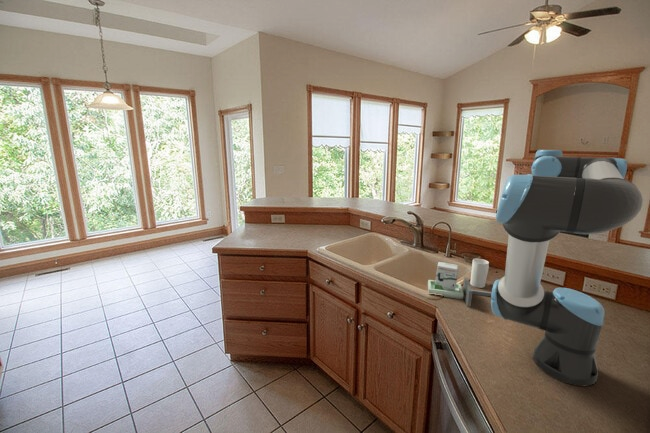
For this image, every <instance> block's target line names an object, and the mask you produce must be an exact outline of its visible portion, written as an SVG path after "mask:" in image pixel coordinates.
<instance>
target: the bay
mask: <svg viewBox="0 0 650 433" xmlns="http://www.w3.org/2000/svg"><path fill="white" fill-rule="evenodd" d="M462 290H463V293H464V295H463V299H464V301H465V304H466V307H468V308H471V305H472V297H473V295H477V296H484V297H491V294H492V291H484V290H476V289H472V285H471V284H470V281H469V279H468V277H466V276H465V277H463V285H462Z"/></svg>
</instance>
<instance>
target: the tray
mask: <svg viewBox="0 0 650 433" xmlns="http://www.w3.org/2000/svg"><path fill="white" fill-rule="evenodd" d="M435 280H436V279H435ZM435 280H434V279H428V281H427V292H429V293H436V294H442V295H443V296H444V298H445V297H446V298H451V299H459V300H464V293H463V286H462V284H461V283H457V282H456V288H455V292H453V291H446V290H439V289H434V288H435ZM443 296H442V297H443Z"/></svg>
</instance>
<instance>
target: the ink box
mask: <svg viewBox="0 0 650 433" xmlns="http://www.w3.org/2000/svg"><path fill="white" fill-rule="evenodd" d="M458 272H459V265H458V264H453V263H449V262H441V261H438V263H437V267H436V275H435V288H434V289H439V290H446V291H453V292H455V288H456V283H457V280H458Z"/></svg>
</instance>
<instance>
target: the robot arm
mask: <svg viewBox="0 0 650 433" xmlns="http://www.w3.org/2000/svg"><path fill="white" fill-rule="evenodd" d="M627 170H628V161H627V160H626V158H619V157H611V156H610V157H609V156H608V157H591V156H590V157H587V156H586V157H585V156H584V157H582V156H563V151H562V150H560V149H538V150H537V151H536V152H535V156H534V160H533V162H532V164H531V168H530V171H531V173H528V174H512V175H510V176H508V177H507V179H506V180H505V182H504V187H503V190H502V193H501V196H500V200H499V204H498V206H497V210H496V215H495V222H497V223H500V224H501V225H502V228H503V230H504V232H505V233H506V234H507V235H508V239H507V240H508V241H507V248H506V260H505V271H504V275H503V277H501V278H499V279H496V280H494V282H493V285H492V288H491V292H492V294H491V296H490V297H491V299H490V306H491V307H490V308H491V312H492V313H493V314H494V316H496V317H499V318H502V319H504V320H508V321H512V322H514V323H517V324H522V325H525V326H528V327H531V328H536V329H538V330H541V331H545V332H544V336H543V337H542V338H541V340H540V341H539V342H538V343H537V345H536V346H535V347H534V349H533V354H532V360H533V361H534V363H535V365H536V366H537V367H538V368H539V369H540V370H541V371H543V372H544V373H545V374H547V375H549V376H550V377H552V378H554V379H556V380H558V381H560V380H561V381H560V382H563V381H564V382H563V383H565V382H567V383H566V384H568V383H571V384H570V385H572V384H575V385H574V386H576V385H591V384H594V383H595V382H596V383H597V380H598V376H599V370H598V366H597V365H598V364H597V359H596V349H597V346H598V342H599V338H600V334H601V331H602V330H601V329H602V326H603V325H604V324H605V323H604V320H605V319H604V318H605V311H606V310H605V309H604V306H603V305H602V304H601V302H600V301H599V300H597V299H595V298H594V297H592V296H590V295H588V294H586V293H583V292H581V291H578V290H575V289H572V288H569V287H568V288H567V287H555V288H554V290H553V291H550V290H546V289H545V288H544V287H543V286H542V284H541V281H542V276H543V272H544V268H545V267H544V266H545V263H546V257H547V255H548V249H549V245H550V241H552V240H554V239H556V237H558V235H559V234H560V232H562V233H563V232H564V233H570V234H578V235H596V234H602V233H606V232H610V231H613V230H616V229H619V228H621V227H623V226H625V225H627V224H628V223H630V222H631V221H632V220H634V218H635V219H636V217H637V216H638V215H639V213H640V212H641V210H642V207H643V201H644V200H643V196H642V193H641V191H640V190H639V188H638V187H637V186H636V185H635V184H634V183H633V182H632V181H630V180H627V179H625V177H626V174H627ZM596 383H595V384H596ZM595 384H594V385H595ZM591 386H592V385H591Z"/></svg>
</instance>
